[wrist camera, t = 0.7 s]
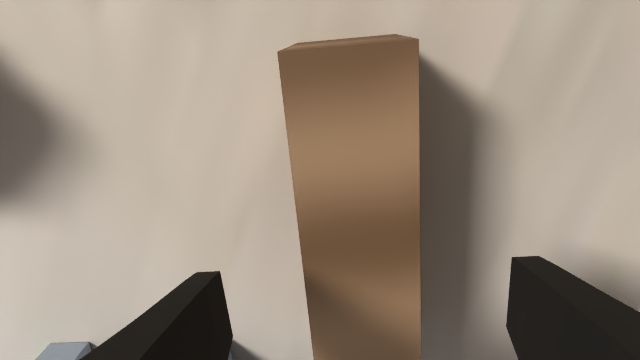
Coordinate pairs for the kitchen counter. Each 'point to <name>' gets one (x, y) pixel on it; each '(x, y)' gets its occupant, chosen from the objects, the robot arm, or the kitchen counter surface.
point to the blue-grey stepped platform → (70, 351)
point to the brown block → (357, 192)
